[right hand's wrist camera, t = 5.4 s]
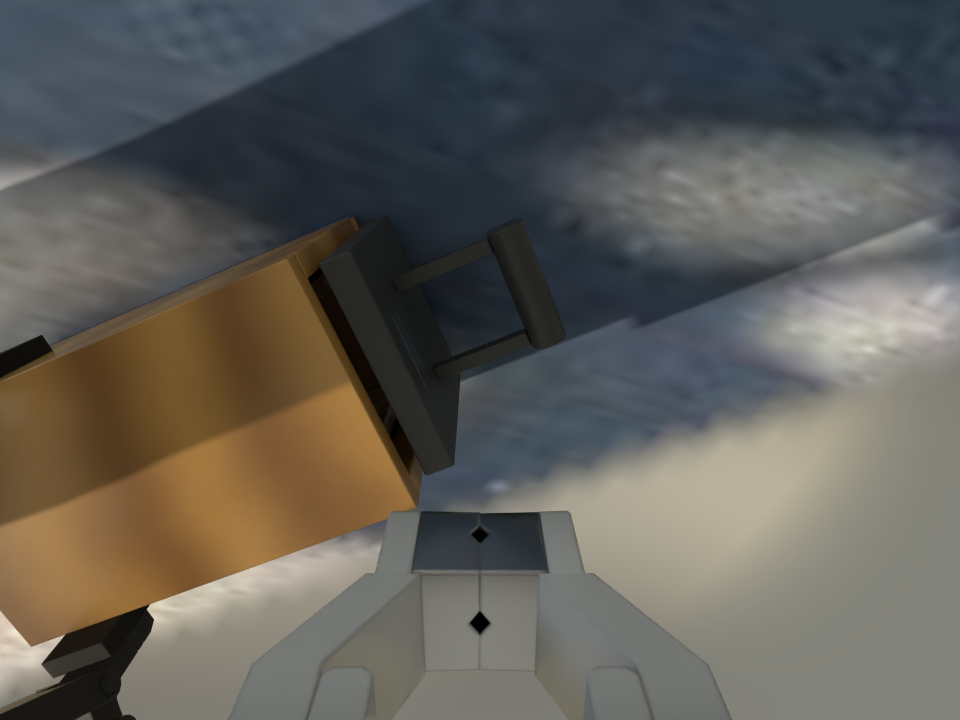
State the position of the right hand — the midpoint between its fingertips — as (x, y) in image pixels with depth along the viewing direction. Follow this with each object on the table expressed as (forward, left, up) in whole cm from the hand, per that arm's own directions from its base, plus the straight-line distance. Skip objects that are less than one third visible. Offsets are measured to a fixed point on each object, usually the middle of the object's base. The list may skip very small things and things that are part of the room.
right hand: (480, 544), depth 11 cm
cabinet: (+13, 0, -22) cm, 25 cm away
